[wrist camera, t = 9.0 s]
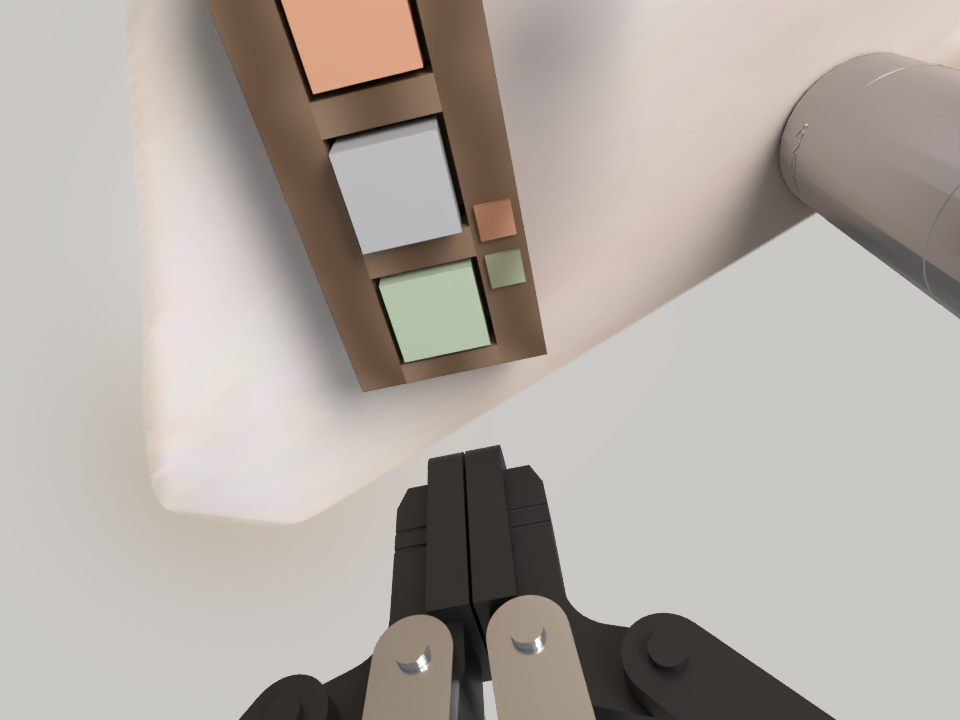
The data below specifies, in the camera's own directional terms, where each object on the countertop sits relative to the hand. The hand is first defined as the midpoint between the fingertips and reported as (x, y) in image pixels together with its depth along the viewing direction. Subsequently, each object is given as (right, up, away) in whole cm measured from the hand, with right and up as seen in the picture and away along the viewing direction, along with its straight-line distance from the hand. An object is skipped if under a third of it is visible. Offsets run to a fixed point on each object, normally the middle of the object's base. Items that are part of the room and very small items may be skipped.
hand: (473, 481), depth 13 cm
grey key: (-4, +13, +21) cm, 25 cm away
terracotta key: (-6, +20, +18) cm, 27 cm away
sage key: (-3, +7, +27) cm, 28 cm away
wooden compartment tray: (-4, +15, +25) cm, 29 cm away
